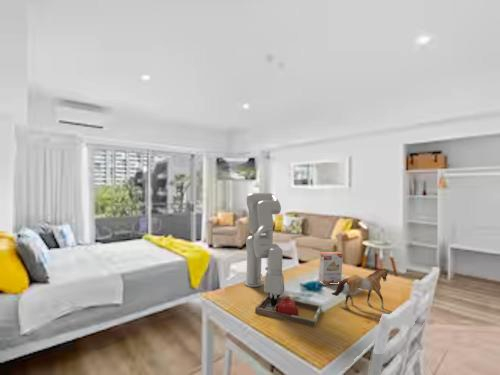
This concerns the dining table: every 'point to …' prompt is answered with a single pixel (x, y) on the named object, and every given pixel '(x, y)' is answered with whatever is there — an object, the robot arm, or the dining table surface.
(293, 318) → the box
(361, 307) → the dining table surface
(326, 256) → the cracker box
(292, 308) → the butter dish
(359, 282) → the horse figurine
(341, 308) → the dining table surface
